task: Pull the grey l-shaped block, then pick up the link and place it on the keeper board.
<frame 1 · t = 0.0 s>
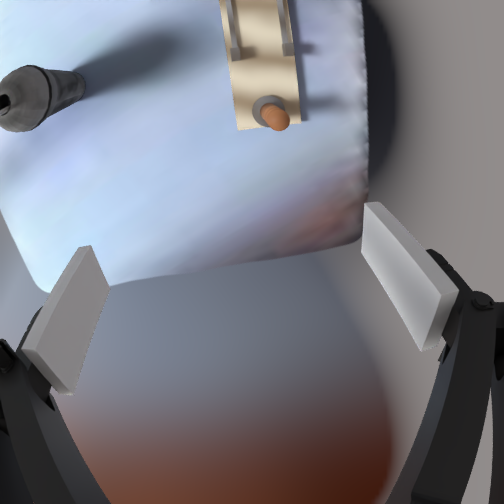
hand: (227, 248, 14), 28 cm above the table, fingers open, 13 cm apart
beverage cup: (71, 87, 32), on the table
keeper board: (252, 1, 28), on the table
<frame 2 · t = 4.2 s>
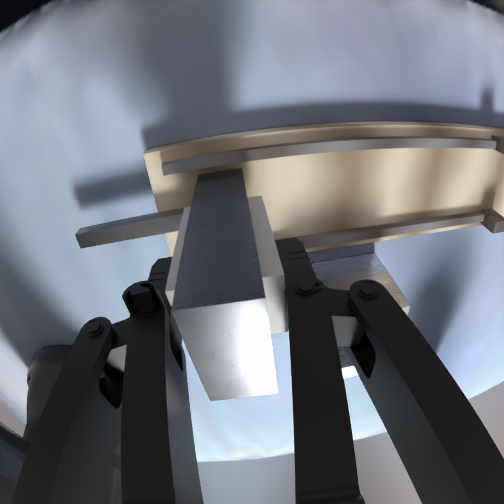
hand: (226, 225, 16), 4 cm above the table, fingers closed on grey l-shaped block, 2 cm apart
link: (333, 292, 24), on the table
keeper board: (414, 177, 19), on the table
grey l-shaped block: (138, 274, 13), point 7 cm above the table, slide at 0.0 cm, touching gripper
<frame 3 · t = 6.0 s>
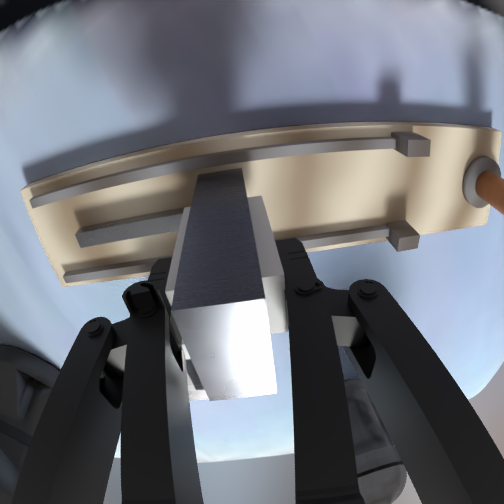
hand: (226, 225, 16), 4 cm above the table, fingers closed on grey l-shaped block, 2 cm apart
beverage cup: (345, 388, 33), on the table
link: (215, 310, 24), on the table
keeper board: (285, 190, 19), on the table
grey l-shaped block: (137, 273, 13), point 7 cm above the table, slide at 9.3 cm, touching gripper
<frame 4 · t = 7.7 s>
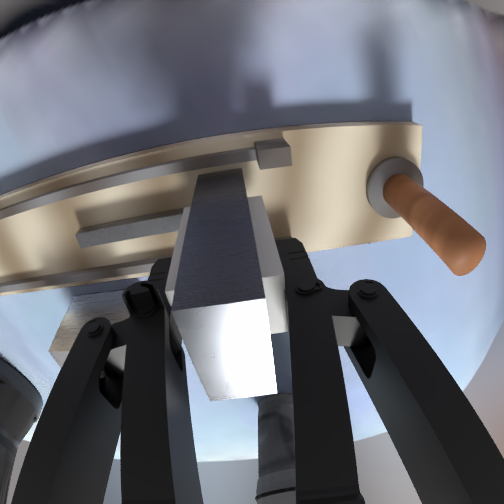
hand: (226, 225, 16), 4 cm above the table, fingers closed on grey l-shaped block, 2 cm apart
beverage cup: (277, 401, 33), on the table
link: (121, 321, 24), on the table
keeper board: (156, 210, 19), on the table
grey l-shaped block: (138, 274, 13), point 7 cm above the table, slide at 17.5 cm, touching gripper
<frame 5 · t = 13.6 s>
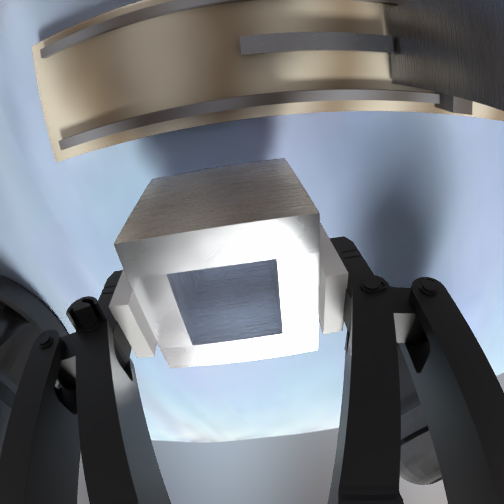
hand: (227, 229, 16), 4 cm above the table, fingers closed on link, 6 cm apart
beverage cup: (386, 336, 28), on the table
link: (227, 226, 16), point 4 cm above the table, touching gripper
keeper board: (327, 44, 14), on the table
grey l-shaped block: (384, 33, 9), point 7 cm above the table, slide at 17.5 cm
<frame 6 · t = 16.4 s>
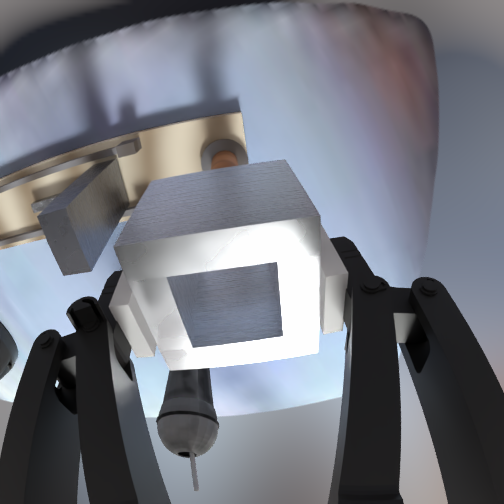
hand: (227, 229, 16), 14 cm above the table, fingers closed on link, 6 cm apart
beverage cup: (191, 350, 41), on the table
link: (227, 228, 16), point 14 cm above the table, touching gripper
keeper board: (78, 188, 27), on the table
grey l-shaped block: (51, 218, 21), point 7 cm above the table, slide at 17.5 cm
when the fingers open (2 cm above the table, at t = 19.4 s): link stays where it is, resting on keeper board.
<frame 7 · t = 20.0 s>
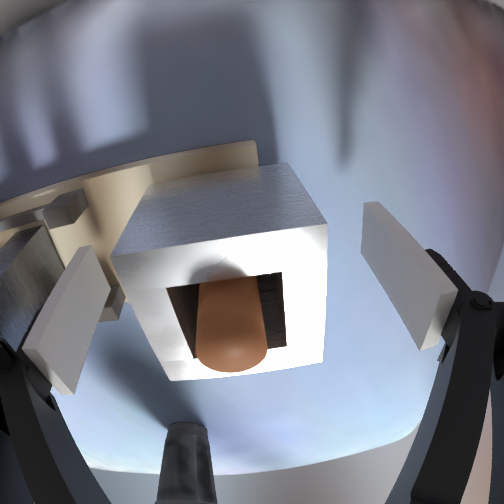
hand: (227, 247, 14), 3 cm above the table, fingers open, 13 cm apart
beverage cup: (187, 428, 31), on the table
link: (228, 233, 15), point 2 cm above the table, touching keeper board
keeper board: (16, 256, 17), on the table
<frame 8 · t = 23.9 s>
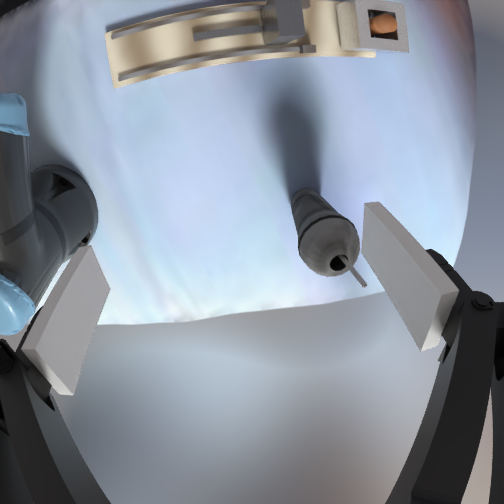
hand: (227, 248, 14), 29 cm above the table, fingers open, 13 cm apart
beverage cup: (305, 202, 45), on the table
link: (362, 29, 30), point 2 cm above the table, touching keeper board
keeper board: (242, 32, 31), on the table
grey l-shaped block: (240, 24, 25), point 7 cm above the table, slide at 16.5 cm
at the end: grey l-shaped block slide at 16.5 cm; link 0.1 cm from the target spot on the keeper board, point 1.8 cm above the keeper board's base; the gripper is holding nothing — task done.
